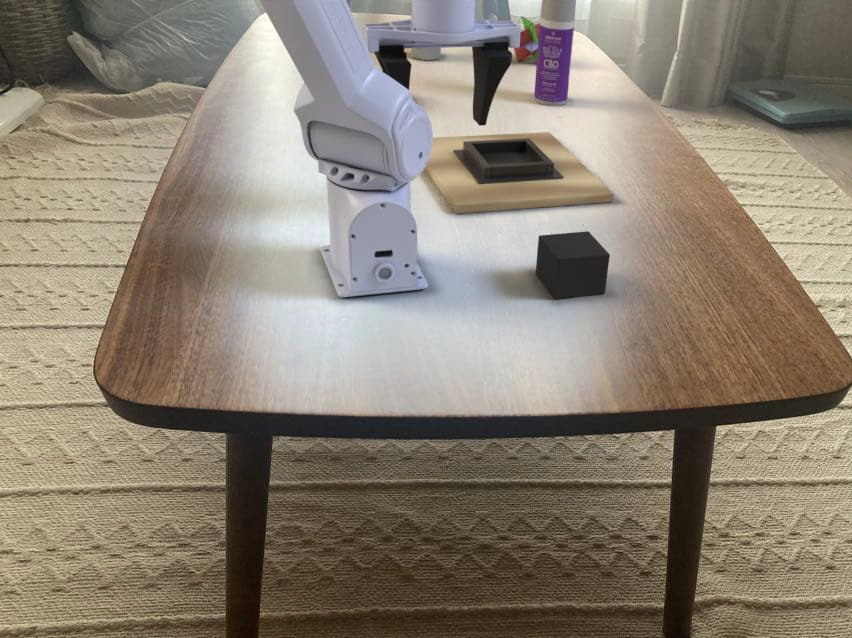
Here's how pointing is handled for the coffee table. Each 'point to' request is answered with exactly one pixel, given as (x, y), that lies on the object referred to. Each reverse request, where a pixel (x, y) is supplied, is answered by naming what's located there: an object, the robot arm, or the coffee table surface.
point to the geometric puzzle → (528, 41)
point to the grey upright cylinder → (425, 51)
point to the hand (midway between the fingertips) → (442, 124)
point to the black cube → (572, 264)
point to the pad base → (511, 173)
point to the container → (554, 51)
